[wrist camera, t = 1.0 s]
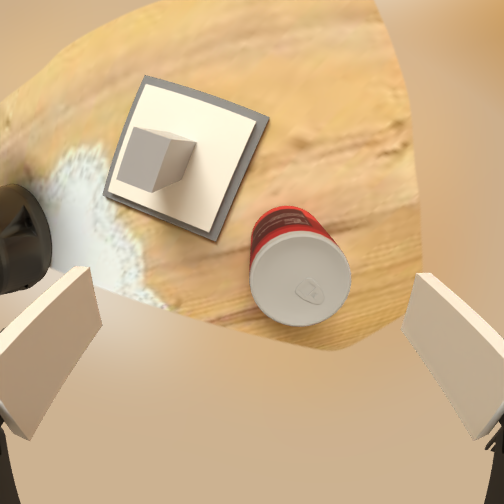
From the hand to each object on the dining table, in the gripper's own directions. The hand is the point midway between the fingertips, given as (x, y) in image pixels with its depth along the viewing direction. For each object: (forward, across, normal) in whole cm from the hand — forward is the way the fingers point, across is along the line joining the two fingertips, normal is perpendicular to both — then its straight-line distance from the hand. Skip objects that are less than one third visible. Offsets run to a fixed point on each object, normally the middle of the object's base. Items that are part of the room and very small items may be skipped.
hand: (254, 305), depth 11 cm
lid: (+20, -7, +5) cm, 22 cm away
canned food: (+21, +4, -4) cm, 22 cm away
